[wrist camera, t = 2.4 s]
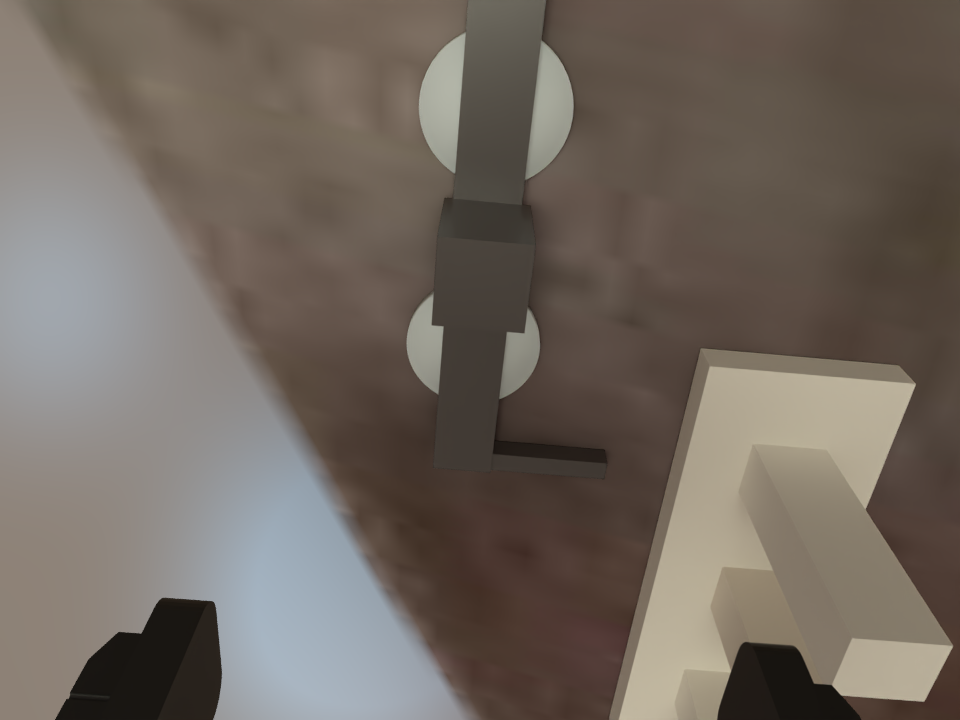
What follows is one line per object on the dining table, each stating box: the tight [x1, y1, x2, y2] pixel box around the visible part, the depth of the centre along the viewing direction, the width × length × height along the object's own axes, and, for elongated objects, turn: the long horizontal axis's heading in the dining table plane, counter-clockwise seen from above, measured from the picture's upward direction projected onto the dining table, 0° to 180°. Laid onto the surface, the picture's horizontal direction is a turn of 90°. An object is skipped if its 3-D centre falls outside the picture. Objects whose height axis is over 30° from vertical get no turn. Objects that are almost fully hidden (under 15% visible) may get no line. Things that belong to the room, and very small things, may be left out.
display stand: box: [609, 348, 953, 720], centre depth 32 cm, size 22×8×12 cm, turn 175°
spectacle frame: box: [407, 0, 607, 479], centre depth 27 cm, size 20×9×5 cm, turn 175°
